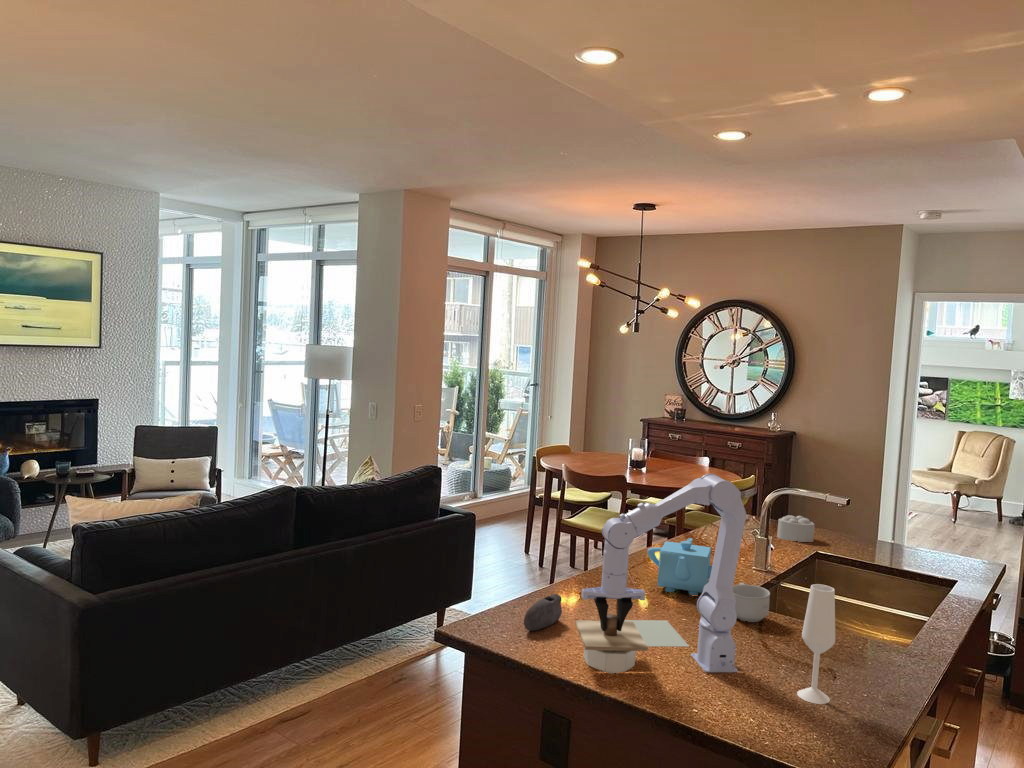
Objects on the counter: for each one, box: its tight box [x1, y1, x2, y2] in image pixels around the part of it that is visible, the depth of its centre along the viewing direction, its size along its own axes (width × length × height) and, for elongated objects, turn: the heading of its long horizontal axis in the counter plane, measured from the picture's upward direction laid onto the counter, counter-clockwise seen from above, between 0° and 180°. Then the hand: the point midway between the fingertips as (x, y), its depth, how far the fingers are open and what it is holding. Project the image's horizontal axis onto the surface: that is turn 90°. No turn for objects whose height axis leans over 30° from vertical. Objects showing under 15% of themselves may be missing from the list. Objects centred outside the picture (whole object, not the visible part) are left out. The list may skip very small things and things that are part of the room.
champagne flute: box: [796, 583, 836, 705], centre depth 168 cm, size 7×7×24 cm
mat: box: [624, 619, 690, 648], centre depth 198 cm, size 17×17×1 cm
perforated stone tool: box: [523, 593, 563, 632], centre depth 200 cm, size 15×5×7 cm, turn 141°
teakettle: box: [646, 537, 713, 596], centre depth 235 cm, size 19×19×15 cm
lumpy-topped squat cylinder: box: [776, 514, 815, 543], centre depth 305 cm, size 10×13×9 cm
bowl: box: [583, 646, 637, 674], centre depth 180 cm, size 11×11×4 cm
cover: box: [574, 613, 649, 652], centre depth 179 cm, size 14×14×5 cm
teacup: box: [732, 582, 771, 623], centre depth 215 cm, size 14×11×8 cm
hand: (610, 629), depth 179 cm, fingers closed on cover, 3 cm apart
